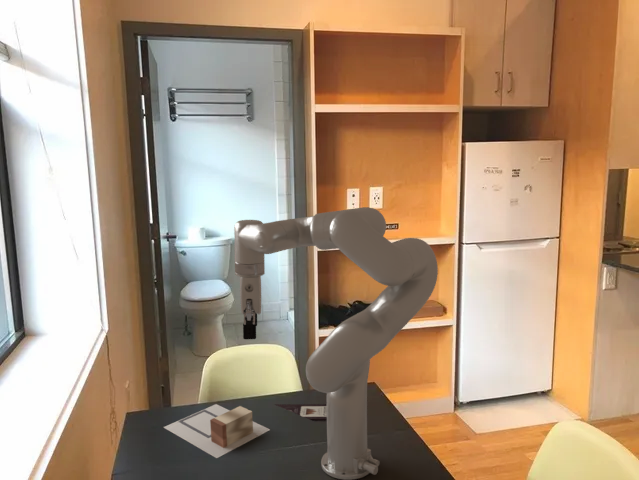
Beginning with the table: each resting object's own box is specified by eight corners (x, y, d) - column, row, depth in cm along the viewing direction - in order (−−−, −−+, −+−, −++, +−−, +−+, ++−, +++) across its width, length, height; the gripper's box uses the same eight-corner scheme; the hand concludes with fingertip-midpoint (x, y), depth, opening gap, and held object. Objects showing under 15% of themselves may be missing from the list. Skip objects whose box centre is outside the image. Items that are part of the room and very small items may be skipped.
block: (241, 426, 144) (240, 406, 143) (253, 432, 140) (252, 411, 140) (211, 441, 136) (210, 419, 135) (223, 447, 133) (222, 425, 132)
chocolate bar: (272, 404, 157) (331, 404, 156) (272, 407, 157) (331, 407, 156) (267, 419, 148) (331, 418, 147) (268, 422, 148) (331, 422, 147)
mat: (270, 431, 142) (270, 429, 142) (216, 460, 129) (216, 457, 128) (216, 405, 158) (216, 403, 158) (163, 429, 144) (163, 426, 144)
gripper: (264, 276, 125) (264, 344, 128) (264, 261, 142) (265, 321, 145) (232, 276, 125) (233, 344, 127) (237, 261, 142) (238, 321, 144)
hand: (250, 332), depth 136 cm, fingers open, 9 cm apart
